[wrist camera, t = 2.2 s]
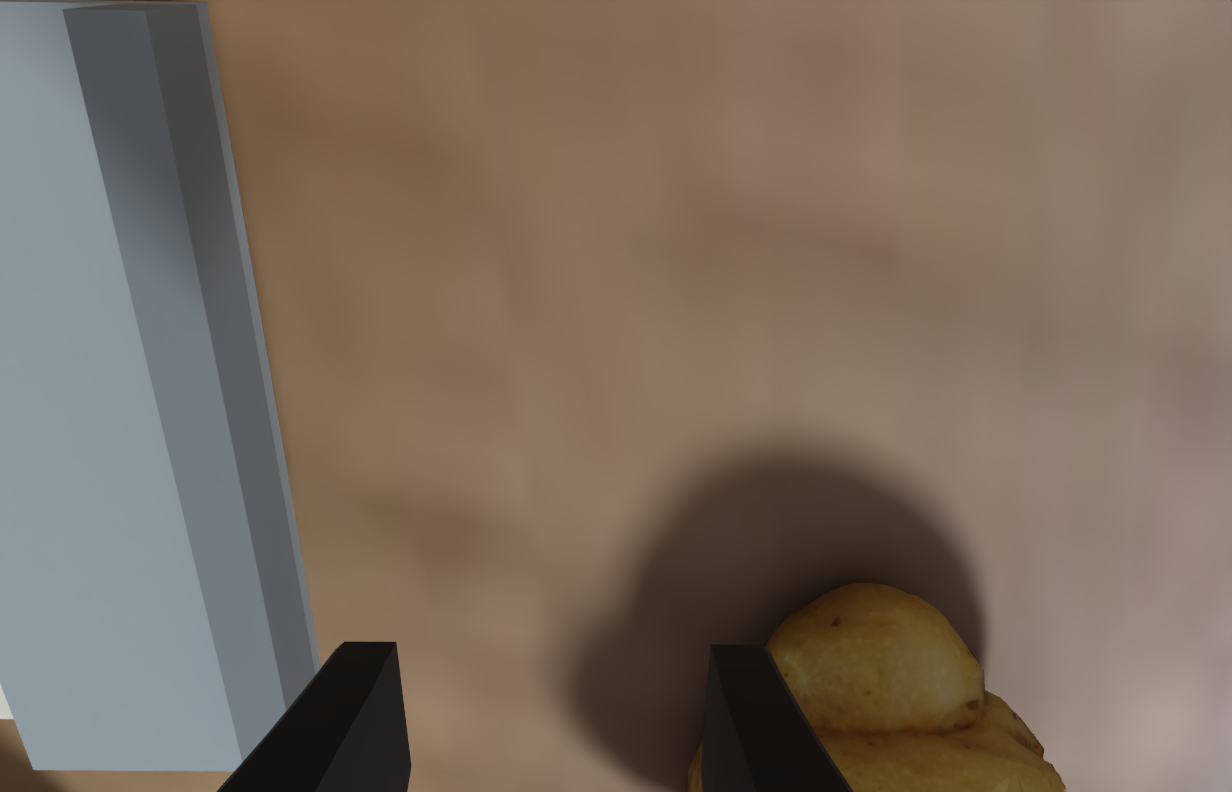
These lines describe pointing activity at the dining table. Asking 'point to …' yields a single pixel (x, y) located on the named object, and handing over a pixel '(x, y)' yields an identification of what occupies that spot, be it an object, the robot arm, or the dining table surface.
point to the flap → (135, 406)
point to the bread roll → (900, 699)
